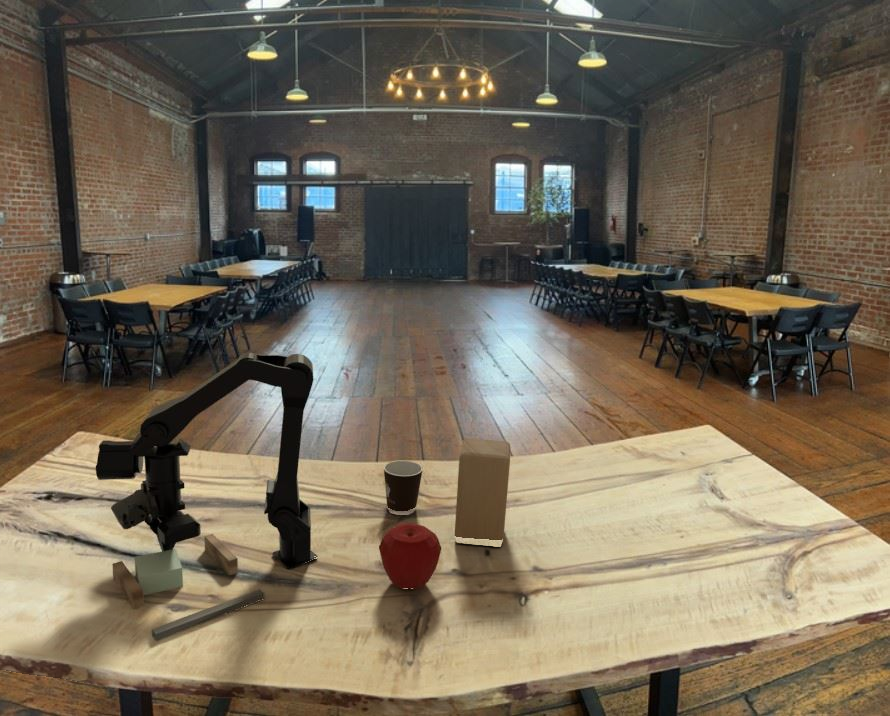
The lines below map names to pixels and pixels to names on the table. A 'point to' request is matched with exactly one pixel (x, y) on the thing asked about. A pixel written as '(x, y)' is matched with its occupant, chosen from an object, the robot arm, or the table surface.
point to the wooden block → (482, 489)
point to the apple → (409, 554)
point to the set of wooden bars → (231, 567)
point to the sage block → (159, 571)
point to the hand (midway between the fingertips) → (166, 554)
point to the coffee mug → (402, 484)
